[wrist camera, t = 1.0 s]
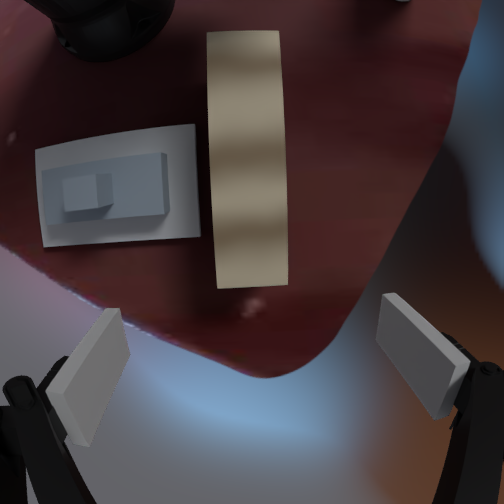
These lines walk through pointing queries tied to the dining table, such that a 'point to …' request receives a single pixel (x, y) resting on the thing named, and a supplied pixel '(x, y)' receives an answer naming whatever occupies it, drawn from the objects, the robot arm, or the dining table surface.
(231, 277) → the pine batten
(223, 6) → the dining table surface
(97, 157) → the fulcrum stand
